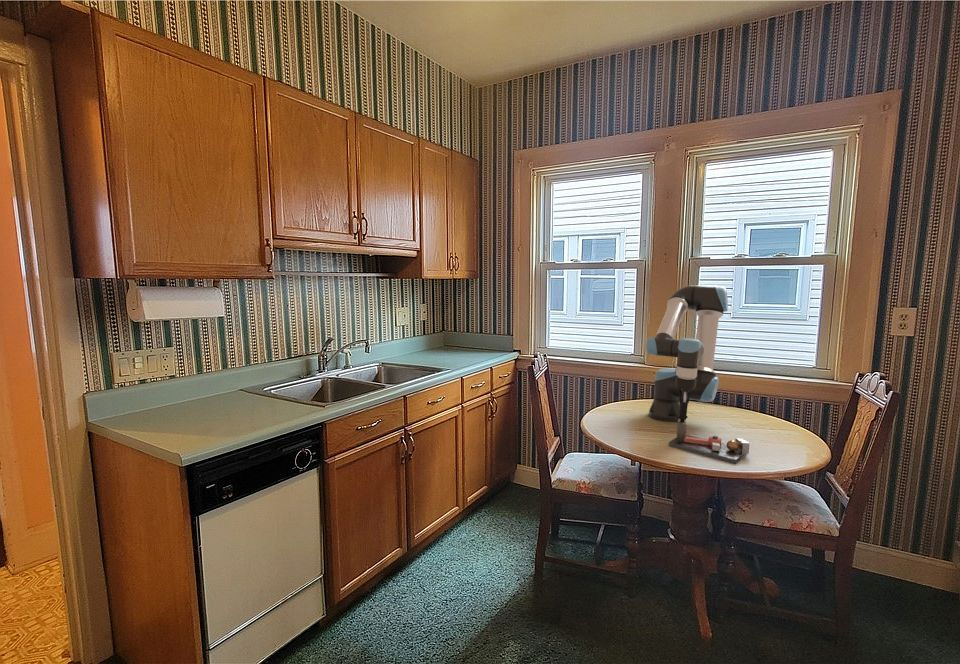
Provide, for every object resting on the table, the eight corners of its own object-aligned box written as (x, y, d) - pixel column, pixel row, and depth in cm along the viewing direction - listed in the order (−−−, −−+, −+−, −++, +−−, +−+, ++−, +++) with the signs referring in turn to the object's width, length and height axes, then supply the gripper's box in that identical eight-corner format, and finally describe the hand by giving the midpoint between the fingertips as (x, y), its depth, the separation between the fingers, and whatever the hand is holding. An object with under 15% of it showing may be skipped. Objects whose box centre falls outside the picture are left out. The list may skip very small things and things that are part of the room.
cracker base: (668, 446, 179) (669, 432, 178) (682, 437, 188) (683, 424, 188) (740, 465, 161) (741, 450, 160) (751, 454, 171) (752, 440, 170)
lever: (676, 445, 174) (677, 427, 173) (676, 437, 182) (677, 420, 181) (722, 451, 168) (724, 433, 167) (720, 443, 176) (721, 426, 175)
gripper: (675, 372, 187) (670, 427, 191) (676, 379, 176) (670, 437, 179) (695, 374, 184) (690, 430, 188) (697, 381, 173) (691, 440, 176)
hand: (680, 433), depth 183 cm, fingers closed
